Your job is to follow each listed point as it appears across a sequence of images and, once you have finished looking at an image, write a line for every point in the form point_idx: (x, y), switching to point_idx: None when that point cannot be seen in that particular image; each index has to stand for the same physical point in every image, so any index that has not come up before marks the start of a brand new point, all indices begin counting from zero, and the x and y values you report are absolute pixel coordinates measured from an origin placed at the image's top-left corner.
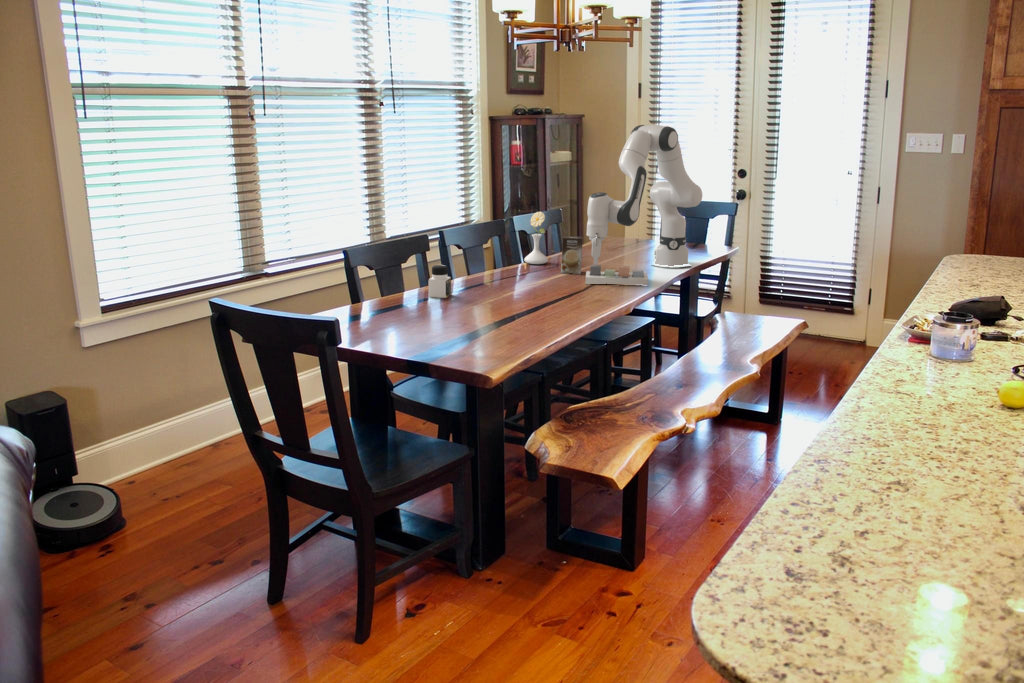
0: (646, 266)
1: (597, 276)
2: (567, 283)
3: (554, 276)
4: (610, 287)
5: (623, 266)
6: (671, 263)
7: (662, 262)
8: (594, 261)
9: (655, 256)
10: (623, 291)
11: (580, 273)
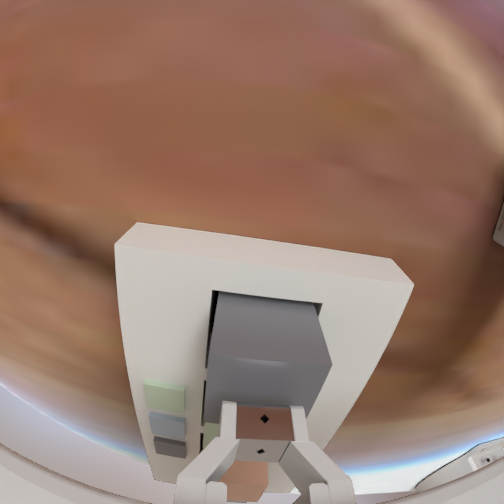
0: (478, 439)
1: (170, 341)
2: (164, 75)
3: (447, 35)
4: (88, 351)
5: (242, 492)
6: (429, 488)
7: (449, 476)
8: (221, 432)
9: (487, 463)
10: (36, 372)
11: (494, 238)
